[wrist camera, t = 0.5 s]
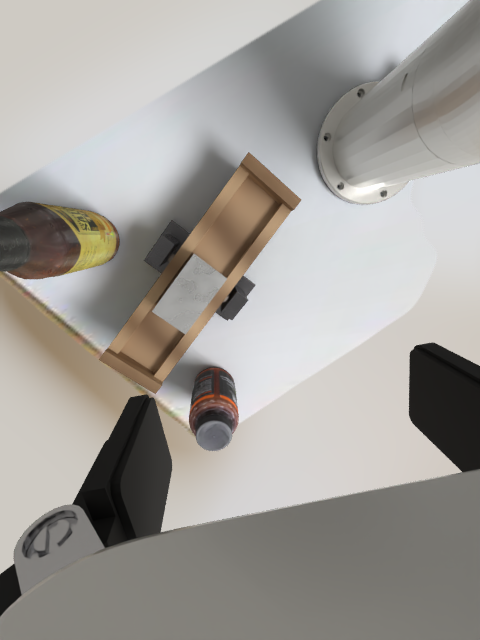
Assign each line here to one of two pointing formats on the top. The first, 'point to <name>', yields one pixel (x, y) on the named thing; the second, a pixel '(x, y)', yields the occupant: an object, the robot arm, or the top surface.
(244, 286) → the fulcrum
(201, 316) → the beam
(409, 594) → the robot arm
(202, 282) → the rider
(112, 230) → the sauce bottle
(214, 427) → the supplement bottle
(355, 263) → the top surface
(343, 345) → the top surface
